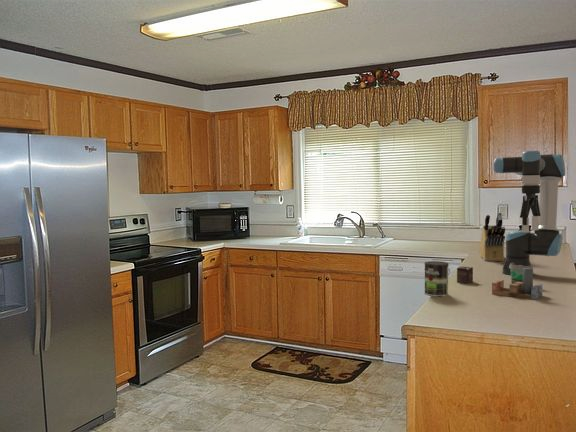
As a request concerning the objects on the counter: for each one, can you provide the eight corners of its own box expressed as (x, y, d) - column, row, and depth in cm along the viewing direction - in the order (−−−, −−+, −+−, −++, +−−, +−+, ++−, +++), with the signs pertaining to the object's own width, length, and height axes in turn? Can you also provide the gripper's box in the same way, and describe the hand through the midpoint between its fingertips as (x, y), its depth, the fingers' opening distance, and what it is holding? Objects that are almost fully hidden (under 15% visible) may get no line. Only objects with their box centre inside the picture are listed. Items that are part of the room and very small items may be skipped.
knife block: (486, 263, 317) (487, 212, 315) (478, 255, 352) (479, 209, 350) (506, 263, 315) (507, 212, 313) (496, 255, 349) (496, 209, 347)
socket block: (500, 290, 238) (500, 279, 238) (542, 295, 226) (542, 284, 226) (491, 294, 231) (492, 282, 230) (535, 299, 219) (535, 287, 218)
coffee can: (441, 297, 225) (441, 265, 224) (420, 294, 232) (420, 263, 232) (452, 294, 232) (452, 262, 232) (432, 290, 240) (432, 260, 239)
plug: (524, 294, 228) (524, 267, 227) (533, 296, 225) (534, 268, 225) (521, 296, 225) (521, 268, 224) (530, 297, 223) (531, 269, 222)
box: (461, 280, 264) (461, 266, 263) (473, 281, 260) (473, 267, 260) (456, 282, 259) (456, 267, 259) (468, 283, 255) (468, 268, 255)
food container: (503, 283, 254) (503, 263, 254) (512, 282, 256) (513, 262, 256) (522, 288, 243) (522, 266, 242) (532, 287, 245) (532, 266, 244)
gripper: (531, 184, 250) (530, 228, 251) (512, 185, 231) (512, 232, 233) (547, 184, 245) (547, 229, 246) (530, 185, 226) (530, 233, 228)
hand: (530, 231), depth 239 cm, fingers open, 13 cm apart
